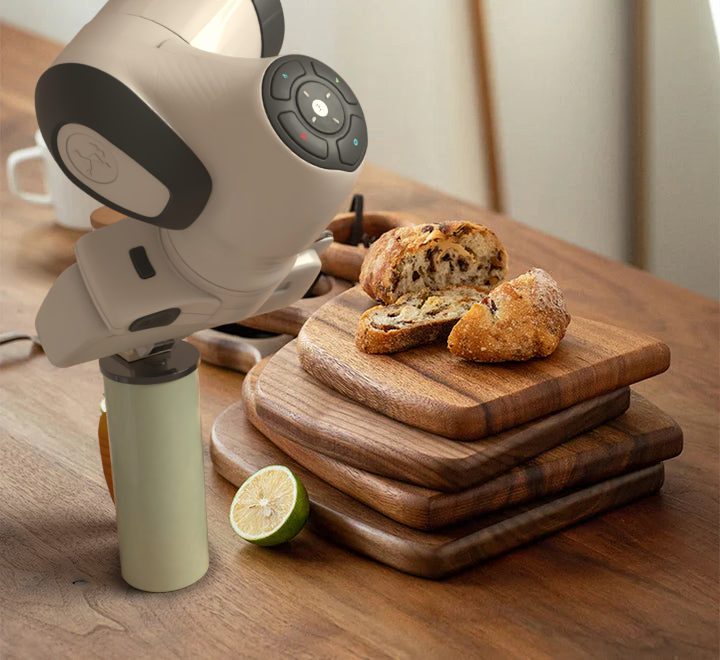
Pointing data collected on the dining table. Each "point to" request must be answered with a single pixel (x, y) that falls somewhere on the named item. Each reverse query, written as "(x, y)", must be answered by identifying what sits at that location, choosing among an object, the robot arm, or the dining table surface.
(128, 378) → the travel cup
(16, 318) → the dining table surface
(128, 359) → the cup slider
